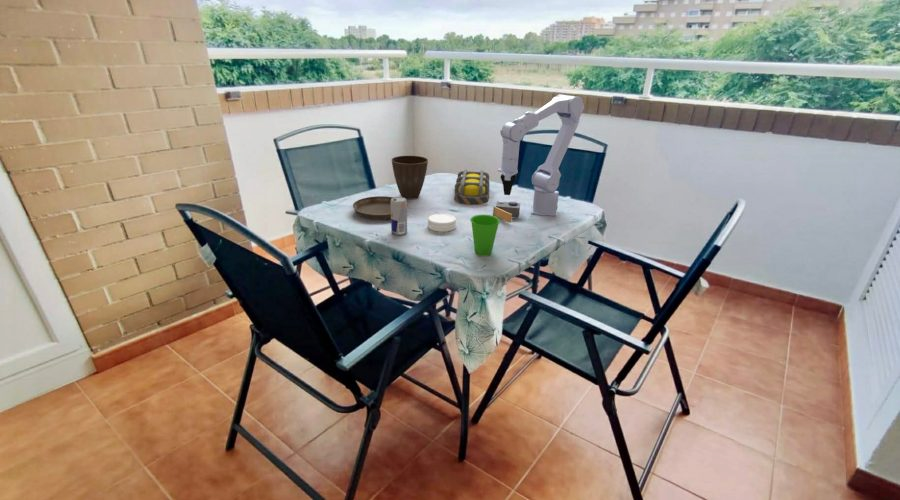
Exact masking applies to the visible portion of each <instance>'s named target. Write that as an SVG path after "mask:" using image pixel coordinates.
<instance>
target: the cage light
mask: <svg viewBox="0 0 900 500" xmlns="http://www.w3.org/2000/svg"><path fill="white" fill-rule="evenodd" d="M484 176H485V177H484ZM453 200H454V201H455V202H456V203H458V204H461V205H468V206H479V205H485V204H487V203H489V201H490V174H489V173H488V172H486V171H484V170H483V169H482V170H480V171H470V170H469V171H468V170H467V169H464V170H461V171H459V172H458V173H457V178H456V180H455V185H454V199H453Z"/></svg>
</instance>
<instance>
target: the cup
mask: <svg viewBox="0 0 900 500" xmlns="http://www.w3.org/2000/svg"><path fill="white" fill-rule="evenodd" d="M469 219H470V220H469V221H470V223H471V229H472V237H473V245H474V246H473V248H474V252H475V254H476V255H477V256H480V257H481V256H482V257H487V256H490V255H491V254H492V251H493V248H494V244H495V239H496V236H497V232H498V228H499V225H500V223H501V220H500V218H499V217H497V216H493V214H492V215H491V214H476V215H473V216H471V217H470V218H469Z"/></svg>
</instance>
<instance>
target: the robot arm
mask: <svg viewBox="0 0 900 500" xmlns="http://www.w3.org/2000/svg"><path fill="white" fill-rule="evenodd" d="M584 108H585V104H584V101H583V98H582V97H581V96H578V95H577V96H575V95H568V94H564V93H561V94H560V93H559V94H558V95H556V96H553V97H552V99H551V100H550V101H549V102H548V103H546V104H544V105H543V106H541V107H540V108H539V109H538V110H536V111H534V112H533V111H526V112H524V114H523V115H521V116H520V117H518V118H515V119H514V120H513V121H512V122H511V121H510V122H509V121H508V122H506V123H504V125H502V128H501V129H500V135H501V137H502V155H501V168H497V172H498V173H499V172H500V173H501V174H500V180H501V183H502V187H503V194H504V196H510V195H511V193H512V189H513V186H514V183H515V182H516V180H517V176H518V175H517V174H518V173H519V172H518V165H519V156H520V155H519V152H520V145H521V144H520V143H521V141H522V140H523V138H524V136H525V135H526V134H527V133H528V132H530V131H531V130H533V129H534V128H536V127H538V126H539V123H540V121H542V120H544V119H546V118H548V117H550V116H551V115H553V114H557V116H558V117H559V119H560V120H561V122H562V123H561V125H560V128H559V130H558V133H557V135H556V137H555V138H554V142H553V143H552V146H551V149H550V150H549V153H548V155H547V157H546V159H545V162H544V163H543V164H541V165H538V166H537V169H536V170H535V172H534V173H533V174H532V176H531V184H532V185H533V189H534V191H533V201H532V206H531V211H530V213H531V214H532V215H538V216H539V215H540V216H541V215H543V216H550V217H551V216H552V217H553V216H554V217H555V216H557V211H558V202H559V191H558V190H557V189H558V188H559V185H560V180H561V179H560V178H561V176H562V174H561V171H560V170H559V168H560V166H561V163H562V161H563V159H564V156H565V154H566V152H567V151H568V148H569V147H570V143H571V142H572V139H573V137H574V135H575V133H576V130H577V128H578V126H579V123H580V119H581V115H582V114H583V111H584V110H585V109H584Z"/></svg>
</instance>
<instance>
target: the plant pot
mask: <svg viewBox="0 0 900 500" xmlns="http://www.w3.org/2000/svg"><path fill="white" fill-rule="evenodd" d="M428 163H429V159H428V158H426V157H424V156H418V155H400V156H394V157H392V158H391V165H392V166H391V167H392V170H393V171H392V172H393V176H394V179H395V183H396V187H397V188H398V192H399V195H400V197H404V198H406V200H416V199H418V198H419V197H420V194H421V192H422V190H423V186H424V183H425V178H426V175H427V169H428Z"/></svg>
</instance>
